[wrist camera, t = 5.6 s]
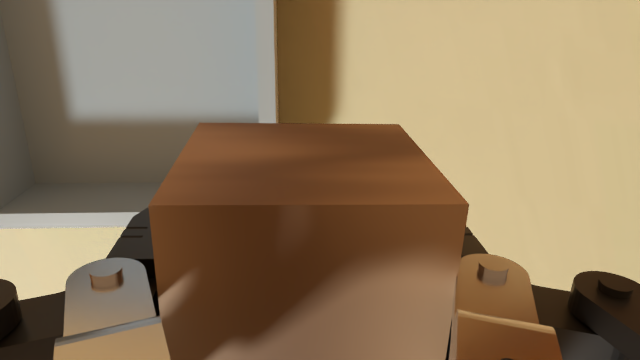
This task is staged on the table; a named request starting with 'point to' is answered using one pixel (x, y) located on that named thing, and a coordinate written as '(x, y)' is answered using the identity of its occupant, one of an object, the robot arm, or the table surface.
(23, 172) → the tote
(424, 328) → the cube
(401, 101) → the table surface
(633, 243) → the table surface
